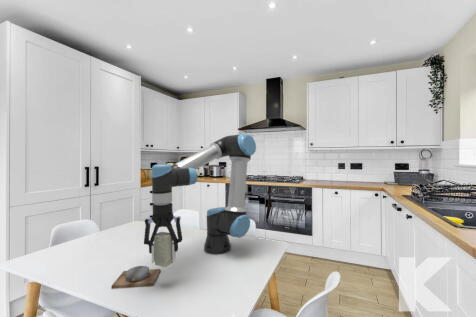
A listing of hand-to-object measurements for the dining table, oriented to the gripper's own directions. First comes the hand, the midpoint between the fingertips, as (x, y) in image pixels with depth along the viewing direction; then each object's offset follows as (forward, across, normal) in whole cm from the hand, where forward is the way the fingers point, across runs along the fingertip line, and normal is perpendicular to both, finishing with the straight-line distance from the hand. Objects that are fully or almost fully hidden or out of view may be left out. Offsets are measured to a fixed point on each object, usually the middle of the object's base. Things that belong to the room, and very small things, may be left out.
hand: (164, 260), depth 91 cm
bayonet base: (+10, +12, -6) cm, 17 cm away
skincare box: (+2, 0, 0) cm, 2 cm away
